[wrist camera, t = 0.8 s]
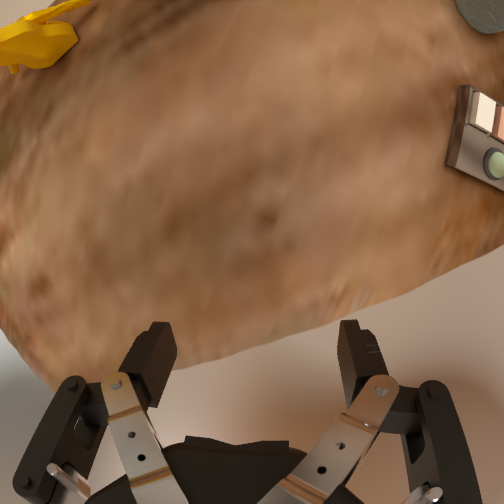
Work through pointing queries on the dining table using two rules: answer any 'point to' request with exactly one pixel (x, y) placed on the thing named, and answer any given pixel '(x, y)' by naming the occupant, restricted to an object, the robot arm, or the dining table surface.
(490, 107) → the cream key
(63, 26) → the figure statuette
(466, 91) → the key console
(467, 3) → the grey-green tumbler
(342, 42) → the dining table surface
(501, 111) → the terracotta key
